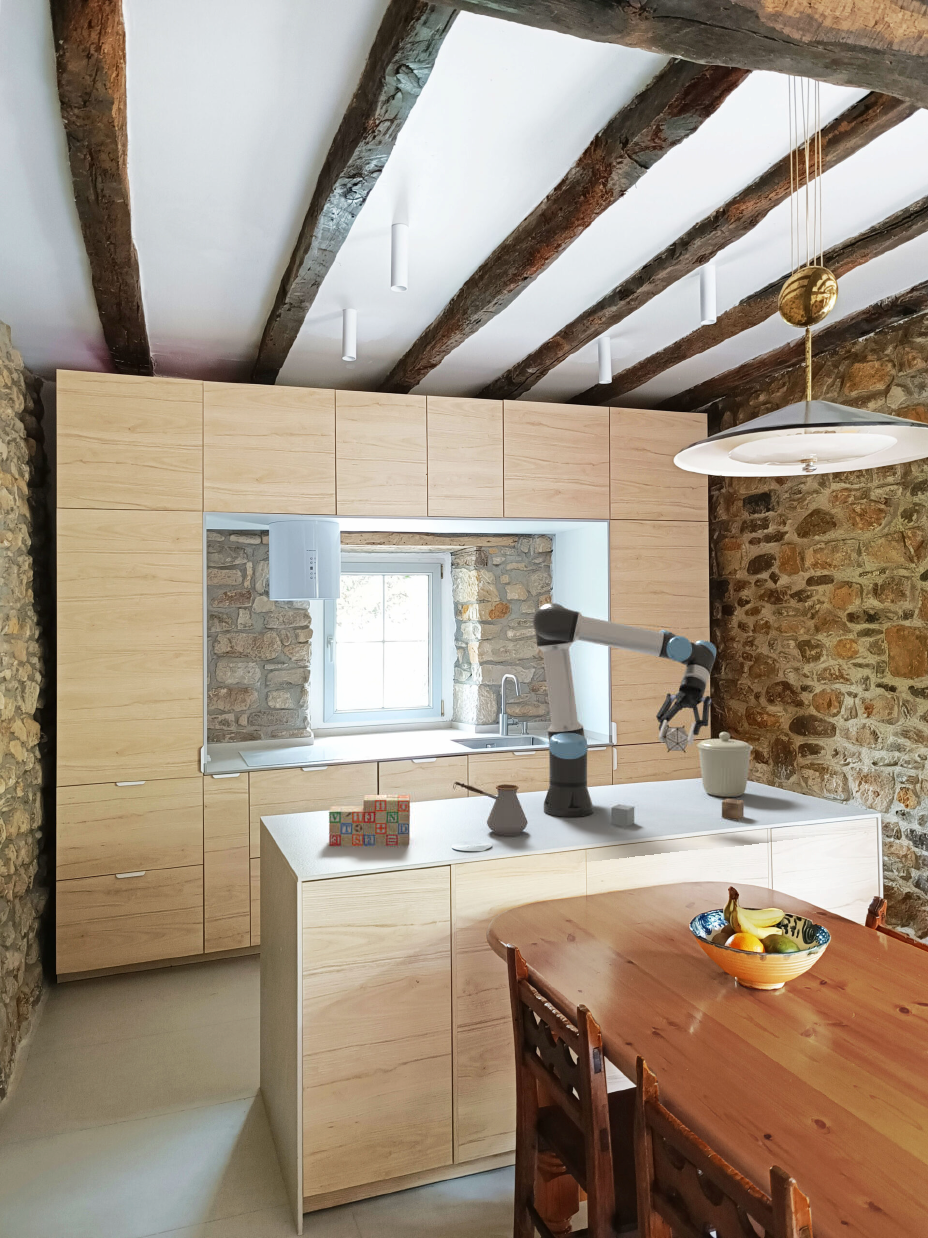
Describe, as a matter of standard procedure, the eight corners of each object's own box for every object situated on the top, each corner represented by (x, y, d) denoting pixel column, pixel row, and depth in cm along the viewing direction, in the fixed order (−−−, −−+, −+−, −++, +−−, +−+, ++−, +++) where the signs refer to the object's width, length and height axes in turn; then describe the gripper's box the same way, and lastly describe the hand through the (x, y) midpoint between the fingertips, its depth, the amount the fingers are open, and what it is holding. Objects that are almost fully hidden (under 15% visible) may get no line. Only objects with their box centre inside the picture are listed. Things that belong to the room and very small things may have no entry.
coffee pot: (520, 826, 243) (520, 774, 243) (533, 836, 232) (533, 782, 232) (448, 830, 238) (448, 777, 238) (458, 841, 227) (458, 786, 227)
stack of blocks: (328, 846, 223) (328, 800, 222) (331, 840, 229) (331, 795, 229) (409, 845, 223) (409, 799, 223) (410, 839, 230) (410, 794, 229)
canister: (763, 798, 278) (763, 735, 278) (714, 801, 274) (714, 737, 274) (733, 787, 296) (734, 727, 296) (686, 790, 292) (687, 729, 291)
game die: (679, 763, 254) (695, 736, 256) (682, 758, 246) (700, 730, 249) (653, 747, 257) (669, 720, 259) (655, 741, 249) (673, 713, 251)
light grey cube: (611, 824, 245) (611, 807, 245) (618, 821, 249) (618, 804, 249) (627, 827, 242) (627, 810, 242) (634, 823, 246) (634, 806, 246)
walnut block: (721, 818, 253) (721, 801, 253) (726, 814, 257) (727, 798, 257) (738, 820, 250) (738, 803, 250) (743, 817, 254) (743, 800, 254)
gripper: (730, 692, 259) (712, 752, 246) (665, 689, 271) (645, 745, 258) (725, 676, 254) (706, 736, 241) (658, 673, 266) (638, 730, 253)
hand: (674, 741), depth 250 cm, fingers closed on game die, 8 cm apart
